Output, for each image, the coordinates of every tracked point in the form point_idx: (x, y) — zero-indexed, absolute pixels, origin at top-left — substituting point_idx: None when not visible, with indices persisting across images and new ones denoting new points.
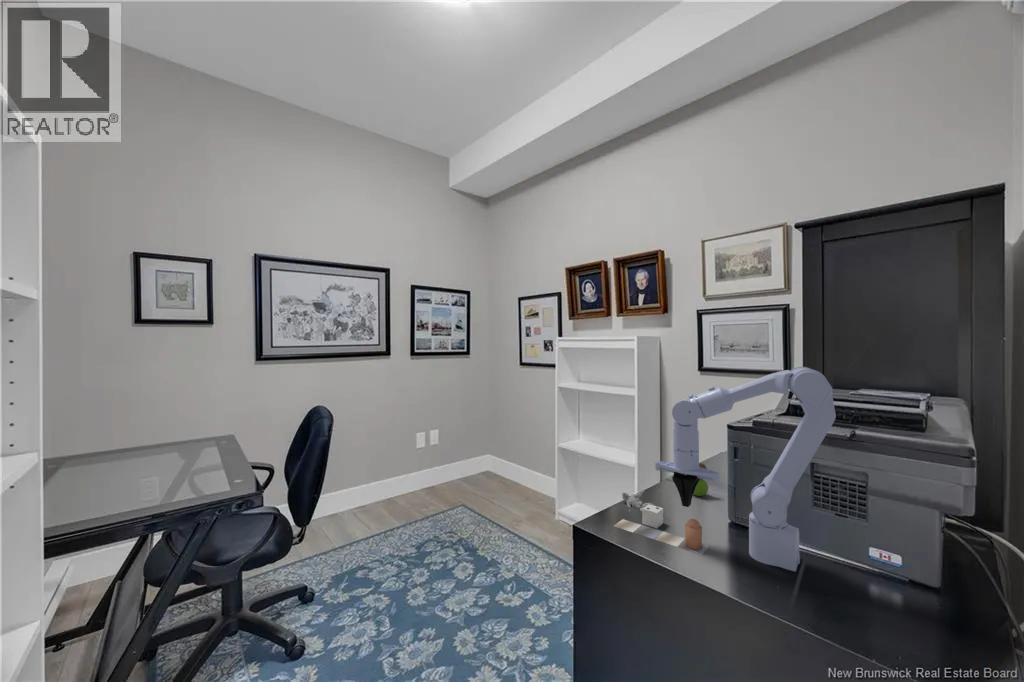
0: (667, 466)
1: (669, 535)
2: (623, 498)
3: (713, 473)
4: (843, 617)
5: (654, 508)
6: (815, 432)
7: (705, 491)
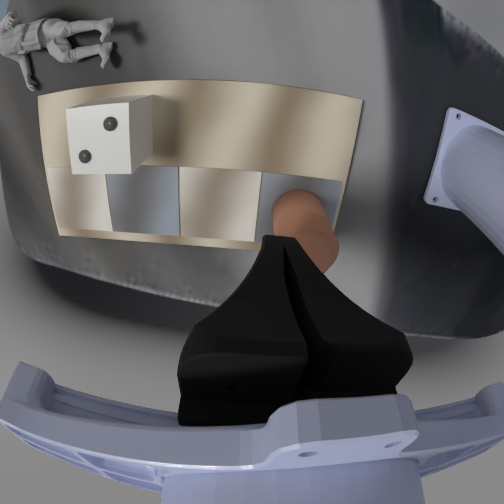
0: (141, 484)
1: (208, 182)
2: None
3: (479, 446)
4: (499, 288)
5: (101, 134)
6: None
7: None
